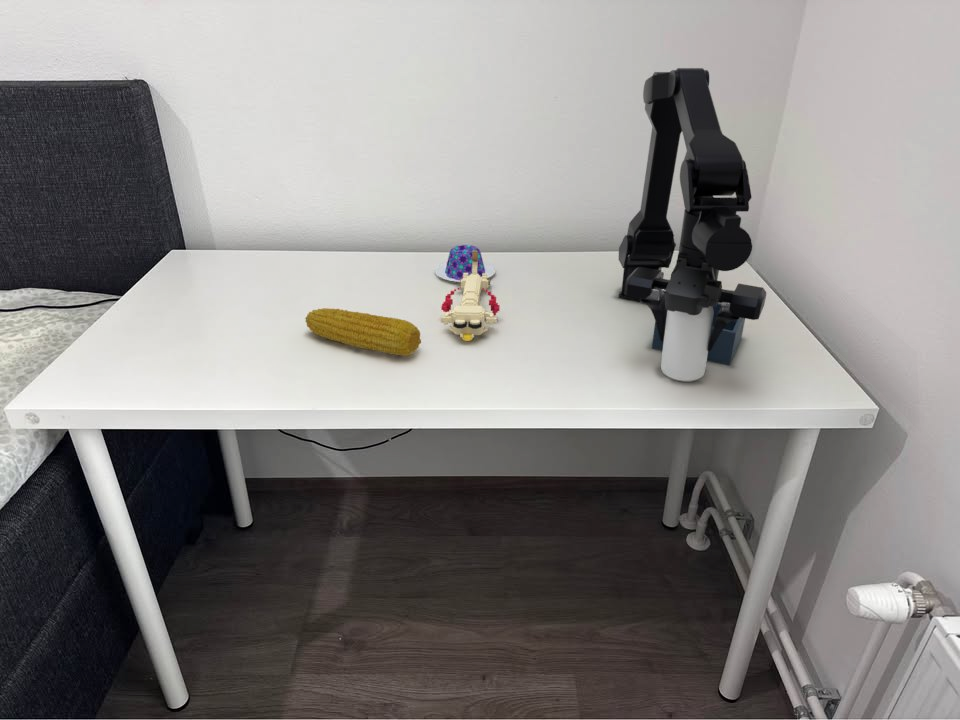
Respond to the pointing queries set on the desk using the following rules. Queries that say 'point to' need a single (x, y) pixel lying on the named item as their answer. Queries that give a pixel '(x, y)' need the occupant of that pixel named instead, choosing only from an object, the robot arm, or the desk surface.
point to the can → (686, 344)
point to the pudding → (462, 264)
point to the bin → (724, 343)
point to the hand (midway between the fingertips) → (685, 345)
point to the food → (365, 330)
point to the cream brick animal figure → (470, 305)
